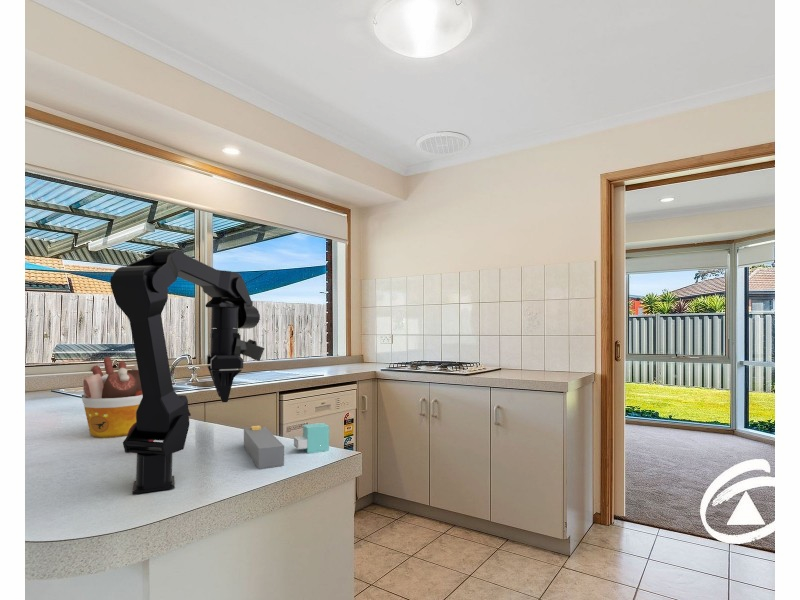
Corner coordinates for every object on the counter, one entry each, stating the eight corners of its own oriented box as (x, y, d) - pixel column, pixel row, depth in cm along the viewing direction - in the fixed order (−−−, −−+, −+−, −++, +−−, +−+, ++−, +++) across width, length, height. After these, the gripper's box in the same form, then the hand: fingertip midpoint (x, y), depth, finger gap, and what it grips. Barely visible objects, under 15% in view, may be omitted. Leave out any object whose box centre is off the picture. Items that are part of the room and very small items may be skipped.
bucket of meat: (161, 433, 125) (163, 358, 126) (88, 445, 113) (91, 361, 114) (137, 422, 139) (139, 354, 140) (70, 432, 127) (72, 357, 128)
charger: (329, 450, 108) (329, 426, 108) (298, 454, 105) (298, 429, 105) (323, 446, 112) (323, 422, 112) (293, 450, 108) (294, 425, 109)
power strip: (284, 465, 96) (284, 442, 97) (258, 469, 94) (259, 445, 94) (262, 439, 118) (262, 420, 119) (240, 441, 116) (241, 422, 116)
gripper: (268, 328, 100) (267, 402, 100) (255, 328, 117) (254, 392, 116) (212, 328, 96) (210, 406, 95) (207, 328, 113) (205, 394, 112)
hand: (223, 399), depth 105 cm, fingers open, 9 cm apart
